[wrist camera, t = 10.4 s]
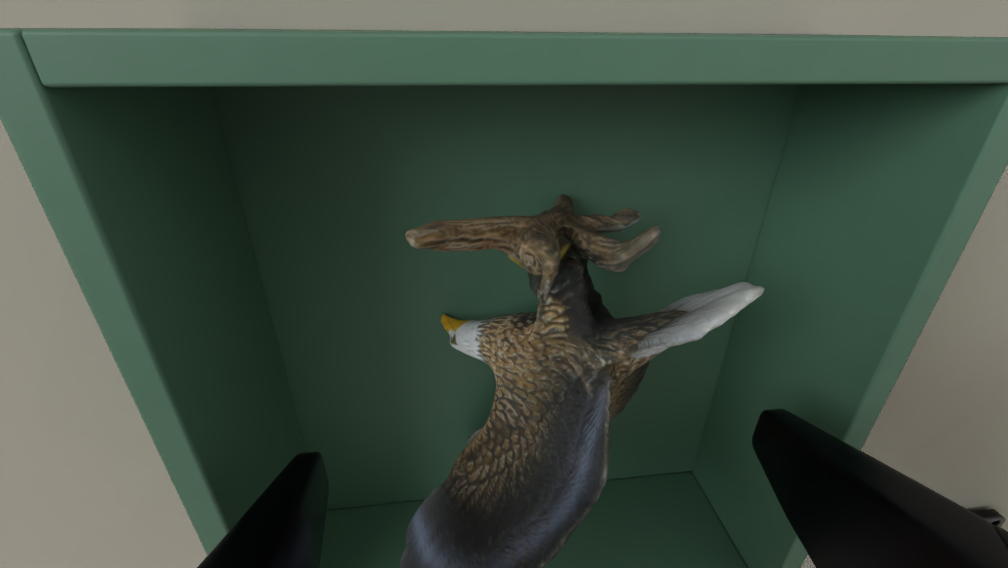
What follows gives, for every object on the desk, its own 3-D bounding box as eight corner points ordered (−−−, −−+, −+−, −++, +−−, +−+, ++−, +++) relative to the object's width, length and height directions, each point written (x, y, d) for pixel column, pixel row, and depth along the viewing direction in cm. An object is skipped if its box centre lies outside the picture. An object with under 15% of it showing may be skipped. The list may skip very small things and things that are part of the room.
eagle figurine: (305, 192, 10) (332, 543, 12) (572, 276, 5) (520, 842, 7) (559, 182, 15) (539, 435, 17) (823, 218, 9) (737, 568, 12)
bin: (820, 34, 11) (1074, 38, 7) (695, 466, 18) (781, 608, 14) (177, 28, 10) (-48, 28, 5) (311, 507, 16) (267, 685, 12)
